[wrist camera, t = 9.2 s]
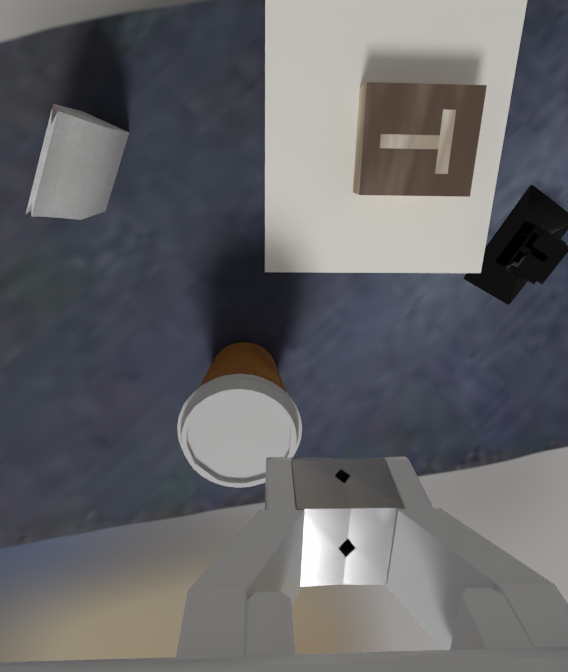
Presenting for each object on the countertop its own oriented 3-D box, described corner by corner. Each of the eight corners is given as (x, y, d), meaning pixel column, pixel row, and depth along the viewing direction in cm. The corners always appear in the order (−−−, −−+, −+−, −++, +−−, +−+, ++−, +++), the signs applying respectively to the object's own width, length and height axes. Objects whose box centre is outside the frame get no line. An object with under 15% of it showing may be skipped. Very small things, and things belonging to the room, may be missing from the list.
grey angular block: (129, 132, 38) (86, 123, 28) (105, 211, 40) (58, 227, 30) (84, 112, 37) (24, 96, 28) (62, 193, 39) (0, 204, 30)
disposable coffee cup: (181, 341, 44) (154, 404, 33) (277, 314, 44) (283, 367, 33) (214, 424, 48) (200, 505, 36) (303, 399, 47) (317, 474, 36)
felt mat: (528, -11, 35) (529, -12, 35) (479, 272, 43) (480, 273, 43) (265, -21, 34) (265, -22, 34) (264, 271, 42) (264, 272, 42)
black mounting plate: (532, 166, 41) (564, 167, 36) (591, 209, 42) (628, 215, 38) (445, 285, 44) (465, 299, 40) (503, 321, 46) (528, 338, 42)
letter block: (359, 87, 37) (469, 90, 38) (352, 192, 40) (455, 193, 40) (367, 82, 34) (486, 85, 35) (359, 195, 37) (469, 196, 38)
